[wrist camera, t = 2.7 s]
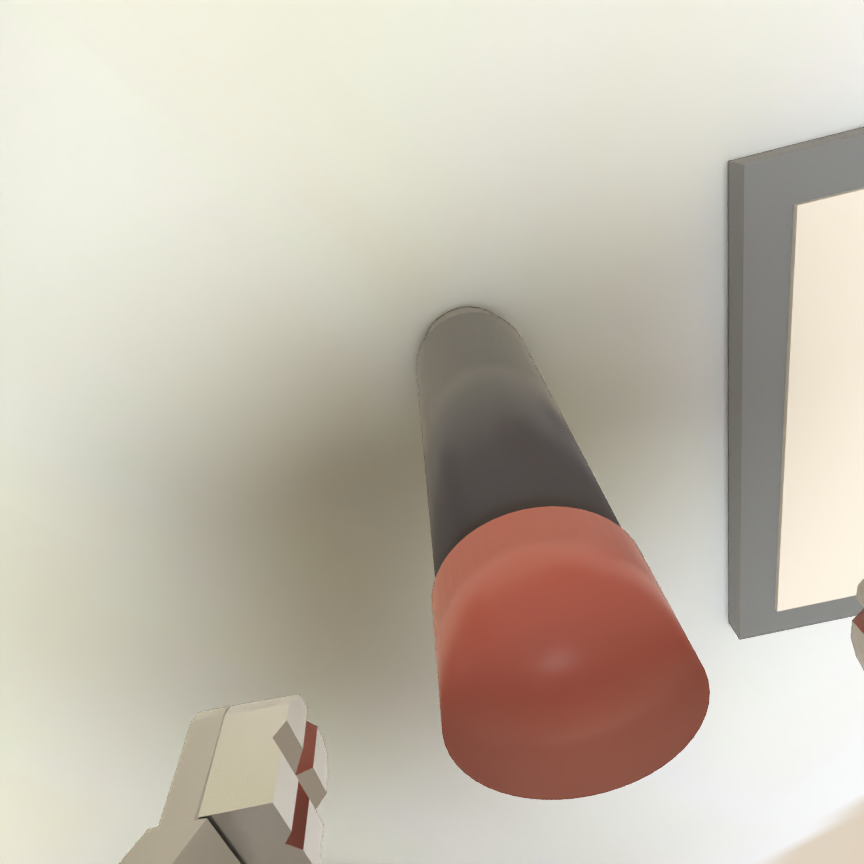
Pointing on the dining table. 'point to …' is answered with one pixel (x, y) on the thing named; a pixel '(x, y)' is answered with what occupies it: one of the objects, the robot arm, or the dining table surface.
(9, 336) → the dining table surface
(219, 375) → the dining table surface
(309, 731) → the robot arm
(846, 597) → the writing board
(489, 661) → the marker
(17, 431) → the dining table surface
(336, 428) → the dining table surface
